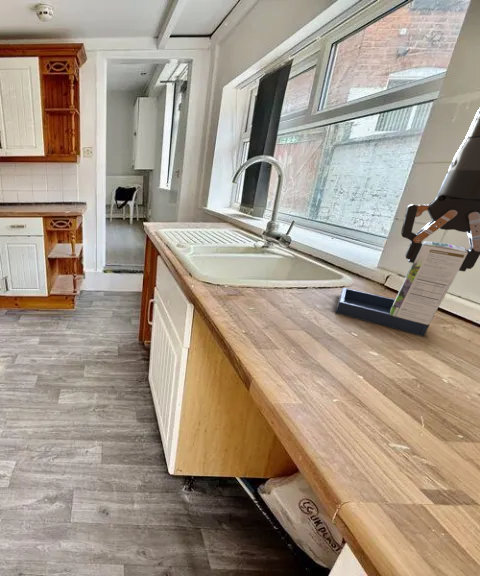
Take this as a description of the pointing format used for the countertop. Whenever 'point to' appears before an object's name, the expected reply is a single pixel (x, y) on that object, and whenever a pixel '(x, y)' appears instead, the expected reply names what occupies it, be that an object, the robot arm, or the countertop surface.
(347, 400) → the countertop surface
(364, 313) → the tray
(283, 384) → the countertop surface
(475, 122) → the robot arm
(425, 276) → the syrup box
